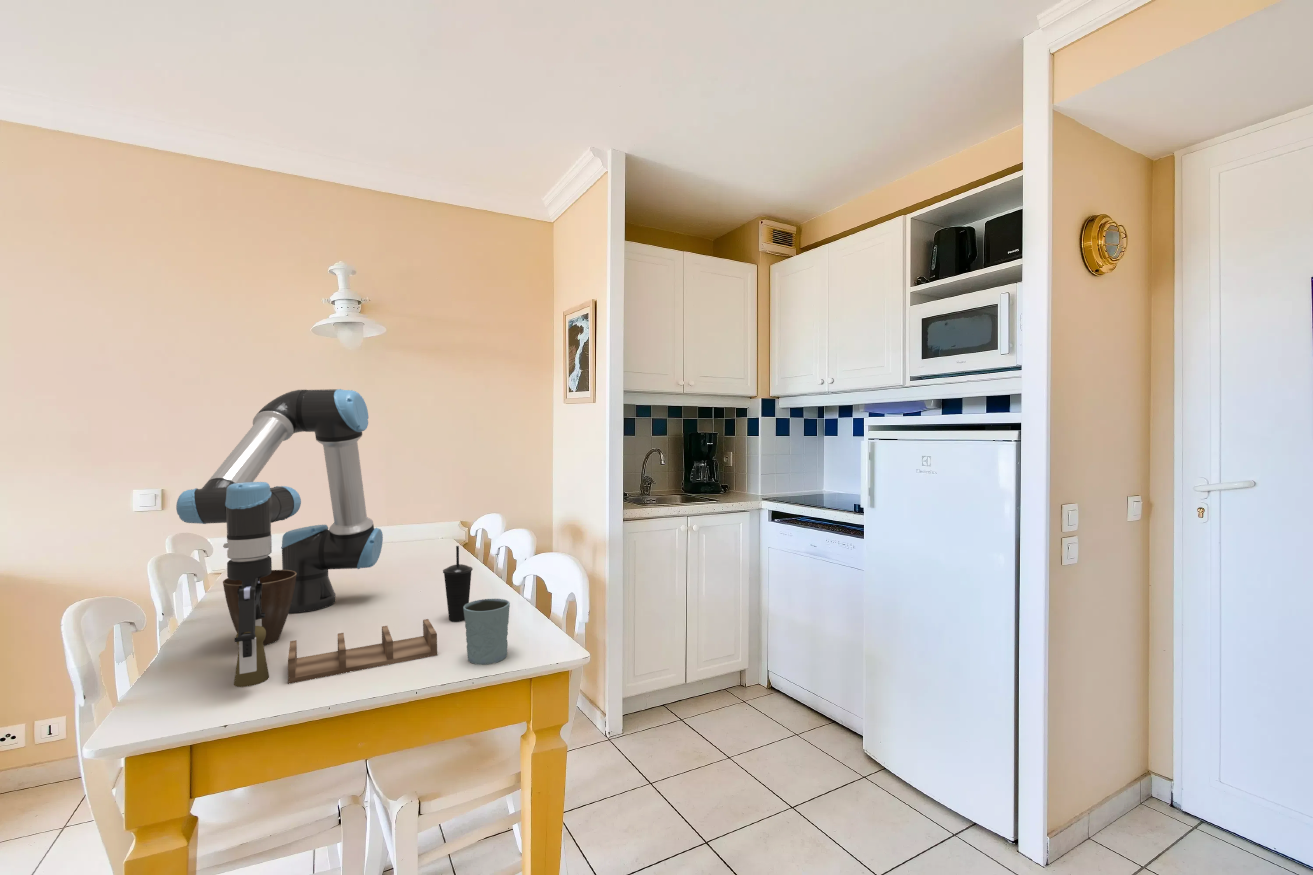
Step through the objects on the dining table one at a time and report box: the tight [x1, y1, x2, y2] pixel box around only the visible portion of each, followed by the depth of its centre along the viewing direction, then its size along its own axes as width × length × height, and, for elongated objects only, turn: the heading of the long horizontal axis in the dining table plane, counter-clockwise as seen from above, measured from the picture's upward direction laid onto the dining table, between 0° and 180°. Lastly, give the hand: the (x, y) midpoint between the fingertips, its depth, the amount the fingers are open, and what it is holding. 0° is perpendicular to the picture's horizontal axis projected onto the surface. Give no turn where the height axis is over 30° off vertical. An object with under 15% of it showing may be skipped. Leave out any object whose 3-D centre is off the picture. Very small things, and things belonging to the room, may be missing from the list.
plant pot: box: [222, 569, 297, 646], centre depth 143 cm, size 15×15×16 cm
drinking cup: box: [442, 545, 474, 623], centre depth 158 cm, size 8×8×20 cm
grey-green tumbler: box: [463, 598, 511, 666], centre depth 132 cm, size 10×10×12 cm
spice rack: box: [287, 618, 438, 685], centre depth 131 cm, size 12×29×5 cm, turn 120°
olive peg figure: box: [233, 626, 270, 688], centre depth 120 cm, size 6×6×11 cm
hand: (251, 660), depth 120 cm, fingers open, 12 cm apart
